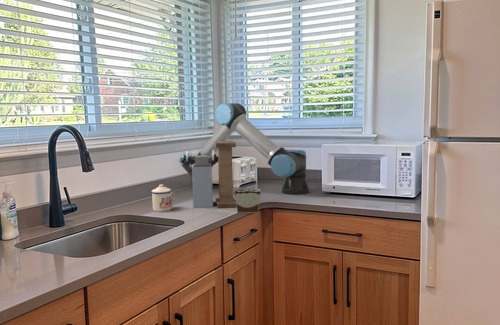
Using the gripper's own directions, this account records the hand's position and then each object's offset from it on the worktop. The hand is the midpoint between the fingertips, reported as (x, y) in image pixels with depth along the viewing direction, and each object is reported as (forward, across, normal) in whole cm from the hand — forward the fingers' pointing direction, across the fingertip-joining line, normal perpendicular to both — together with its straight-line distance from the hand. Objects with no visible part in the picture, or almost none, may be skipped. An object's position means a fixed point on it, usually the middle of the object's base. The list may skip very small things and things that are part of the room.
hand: (200, 152), depth 223 cm
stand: (+3, -11, -29) cm, 32 cm away
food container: (+17, -20, -38) cm, 46 cm away
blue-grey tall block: (+1, 0, -28) cm, 28 cm away
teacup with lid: (+6, +18, -31) cm, 36 cm away
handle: (+7, 0, -9) cm, 11 cm away
